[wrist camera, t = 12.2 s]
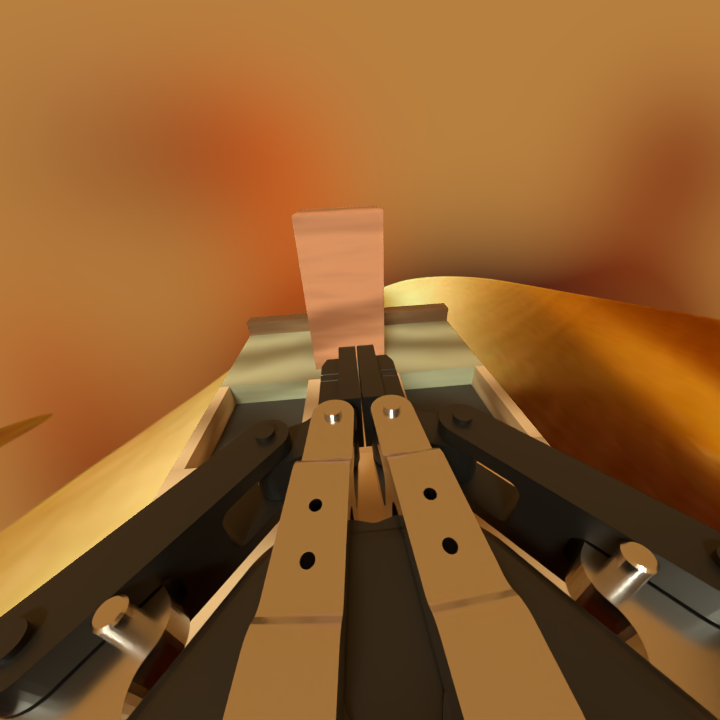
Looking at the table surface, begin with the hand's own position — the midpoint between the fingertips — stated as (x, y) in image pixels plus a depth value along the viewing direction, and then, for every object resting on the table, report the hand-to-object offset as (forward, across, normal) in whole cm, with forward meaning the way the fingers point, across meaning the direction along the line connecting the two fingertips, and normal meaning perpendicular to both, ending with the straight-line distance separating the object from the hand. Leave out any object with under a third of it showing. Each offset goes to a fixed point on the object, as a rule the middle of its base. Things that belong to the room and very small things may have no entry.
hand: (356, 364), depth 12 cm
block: (+13, 0, +7) cm, 15 cm away
